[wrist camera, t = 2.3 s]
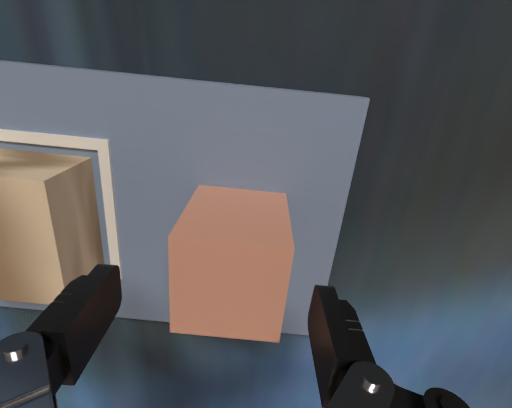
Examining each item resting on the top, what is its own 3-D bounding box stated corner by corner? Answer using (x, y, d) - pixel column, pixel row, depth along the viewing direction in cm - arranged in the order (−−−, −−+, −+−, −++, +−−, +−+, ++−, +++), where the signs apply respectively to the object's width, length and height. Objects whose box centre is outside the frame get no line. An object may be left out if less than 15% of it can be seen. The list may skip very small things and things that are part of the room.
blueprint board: (363, 96, 17) (371, 98, 15) (313, 323, 23) (316, 338, 22) (-86, 51, 16) (-116, 49, 15) (-11, 292, 23) (-28, 305, 22)
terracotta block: (286, 193, 18) (294, 249, 12) (275, 266, 20) (279, 342, 14) (198, 184, 18) (167, 236, 12) (197, 258, 20) (170, 332, 14)
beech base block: (91, 157, 17) (43, 180, 14) (104, 263, 20) (67, 306, 16) (-35, 144, 17) (-117, 165, 14) (-5, 252, 20) (-66, 293, 16)
